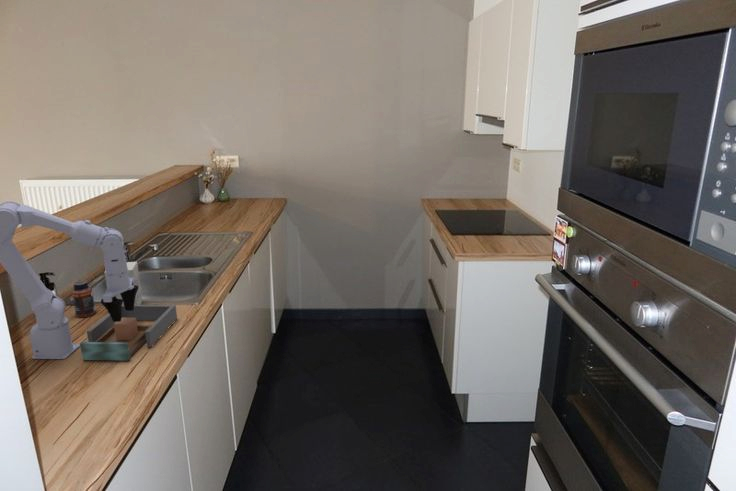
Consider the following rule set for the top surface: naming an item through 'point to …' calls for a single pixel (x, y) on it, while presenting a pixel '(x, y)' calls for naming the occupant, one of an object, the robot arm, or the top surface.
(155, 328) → the organiser housing
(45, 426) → the top surface
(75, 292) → the supplement bottle
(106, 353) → the tray
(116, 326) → the terracotta block
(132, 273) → the supplement box
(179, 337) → the top surface
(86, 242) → the robot arm
